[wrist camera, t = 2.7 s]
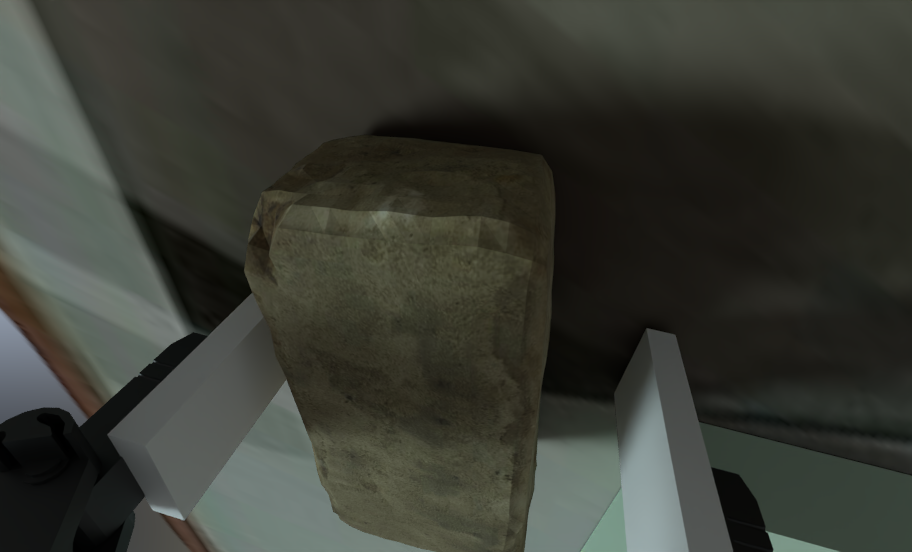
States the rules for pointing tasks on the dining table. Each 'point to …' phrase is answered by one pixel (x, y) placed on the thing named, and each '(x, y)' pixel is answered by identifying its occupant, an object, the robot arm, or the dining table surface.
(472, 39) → the dining table surface
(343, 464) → the stone block
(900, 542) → the base slab
